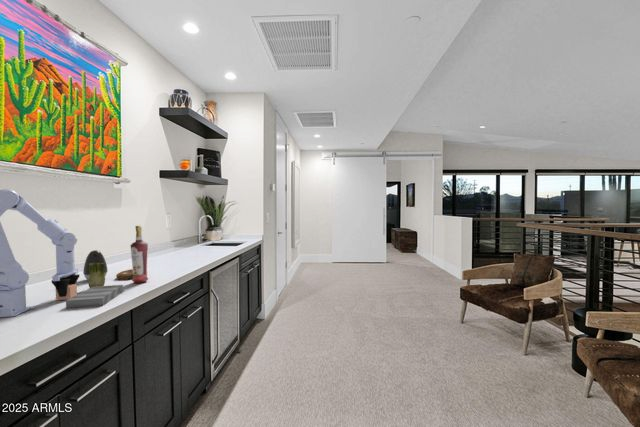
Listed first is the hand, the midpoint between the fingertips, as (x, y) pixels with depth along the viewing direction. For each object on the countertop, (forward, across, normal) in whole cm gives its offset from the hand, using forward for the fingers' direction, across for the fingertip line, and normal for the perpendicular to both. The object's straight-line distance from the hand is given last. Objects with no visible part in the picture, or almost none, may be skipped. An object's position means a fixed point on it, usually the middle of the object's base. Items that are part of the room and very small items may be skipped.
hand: (66, 294), depth 126 cm
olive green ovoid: (+2, +35, +4) cm, 35 cm away
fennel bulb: (+2, +14, -5) cm, 15 cm away
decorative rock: (+2, +36, -12) cm, 38 cm away
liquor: (+2, +21, -21) cm, 30 cm away
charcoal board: (+2, -5, -13) cm, 14 cm away
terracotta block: (+1, 0, 0) cm, 1 cm away
